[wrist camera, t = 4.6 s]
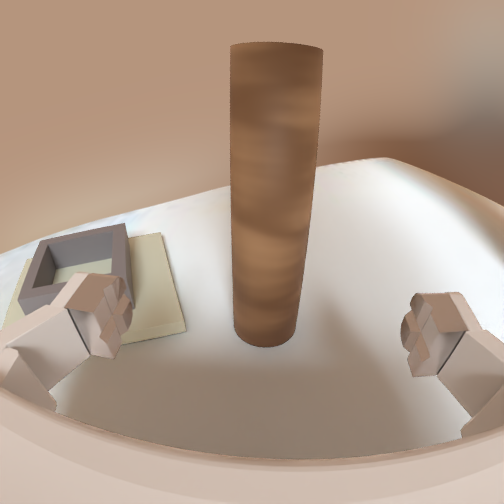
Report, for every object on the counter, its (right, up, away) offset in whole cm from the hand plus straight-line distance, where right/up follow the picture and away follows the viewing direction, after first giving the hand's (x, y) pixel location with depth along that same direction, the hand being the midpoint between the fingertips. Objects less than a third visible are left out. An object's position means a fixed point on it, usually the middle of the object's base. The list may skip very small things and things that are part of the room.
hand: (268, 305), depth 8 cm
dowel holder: (-13, -2, +13) cm, 19 cm away
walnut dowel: (0, -3, +12) cm, 12 cm away
